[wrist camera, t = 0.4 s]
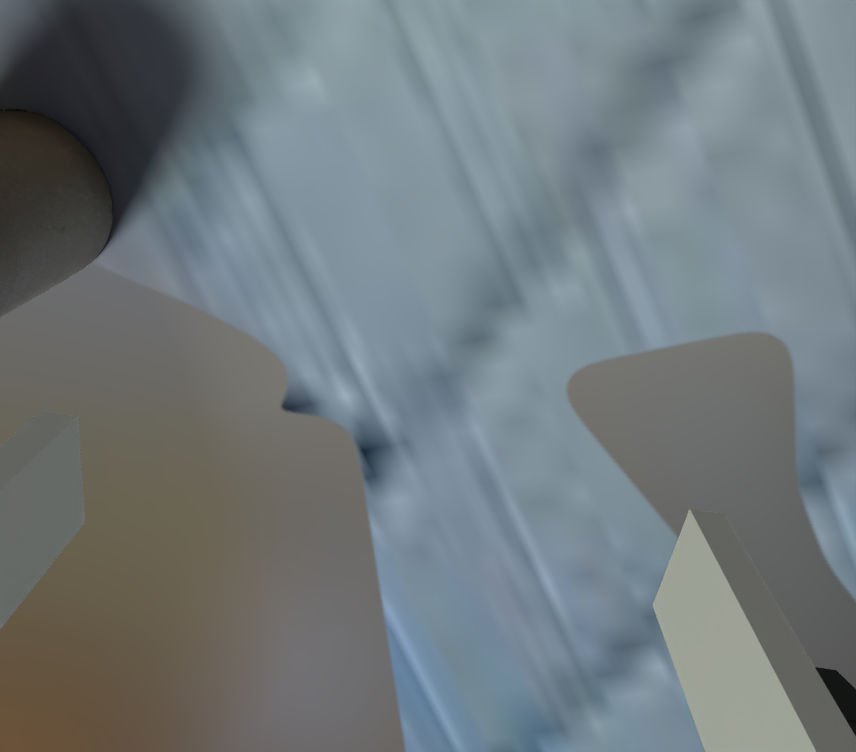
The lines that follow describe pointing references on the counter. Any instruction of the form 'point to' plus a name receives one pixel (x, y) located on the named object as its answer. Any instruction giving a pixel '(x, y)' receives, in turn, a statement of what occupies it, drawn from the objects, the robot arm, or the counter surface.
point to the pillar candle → (46, 207)
